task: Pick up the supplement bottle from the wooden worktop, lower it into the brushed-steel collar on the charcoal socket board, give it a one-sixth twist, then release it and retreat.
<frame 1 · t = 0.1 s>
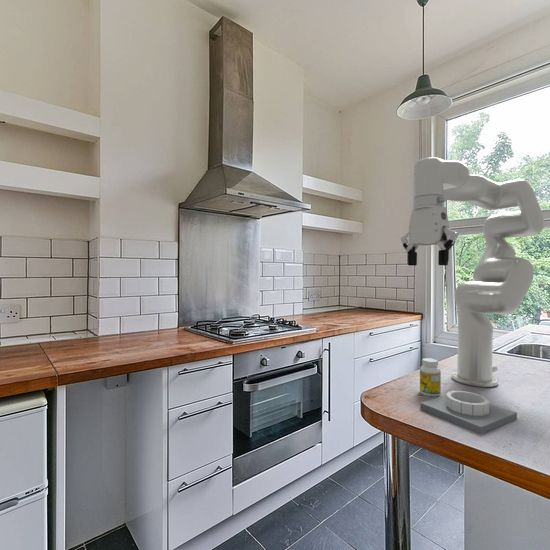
hand: (427, 265, 94), 37 cm above the table, tool pointing down, fingers open, 9 cm apart
socket board: (466, 413, 82), on the table
supplement bottle: (429, 394, 95), on the table
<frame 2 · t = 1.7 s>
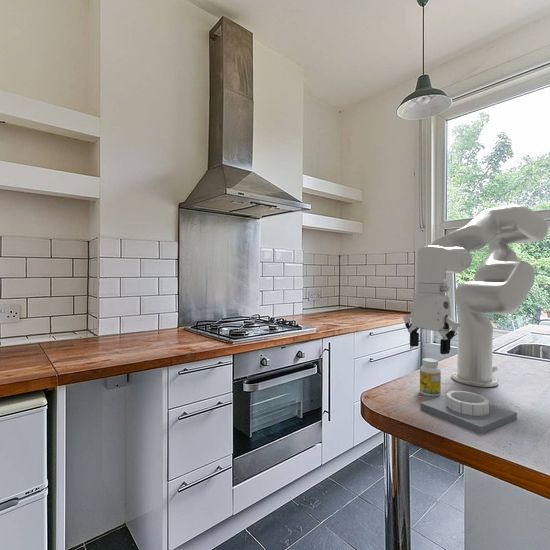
hand: (428, 349, 95), 13 cm above the table, tool pointing down, fingers open, 9 cm apart
nothing on the table moved.
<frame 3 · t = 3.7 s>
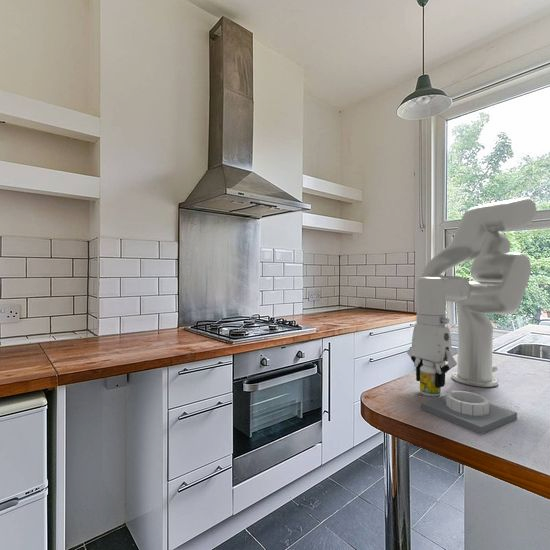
hand: (430, 382, 95), 3 cm above the table, tool pointing down, fingers closed on supplement bottle, 5 cm apart
supplement bottle: (429, 394, 95), on the table, touching gripper
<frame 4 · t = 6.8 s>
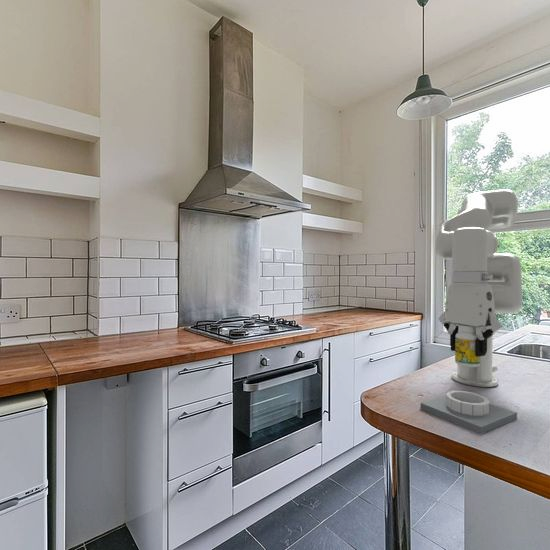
hand: (467, 352, 81), 15 cm above the table, tool pointing down, fingers closed on supplement bottle, 5 cm apart
supplement bottle: (467, 365, 81), point 12 cm above the table, touching gripper
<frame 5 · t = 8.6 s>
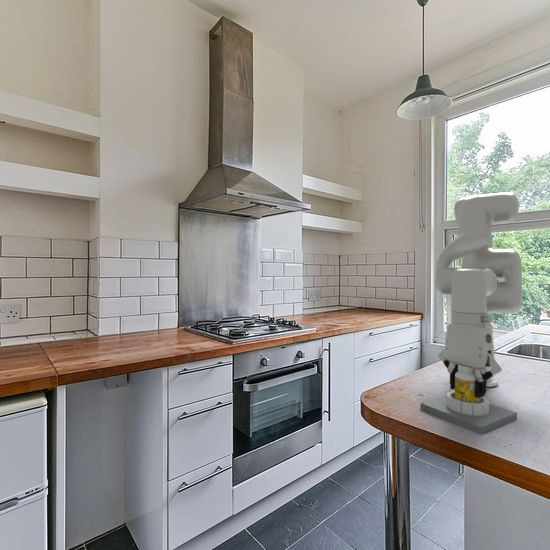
hand: (467, 391, 82), 5 cm above the table, tool pointing down, fingers closed on supplement bottle, 5 cm apart
supplement bottle: (466, 404, 82), point 2 cm above the table, touching gripper
when the fingers open (5 cm above the table, at t = 10.1 s): supplement bottle stays where it is, resting on socket board.
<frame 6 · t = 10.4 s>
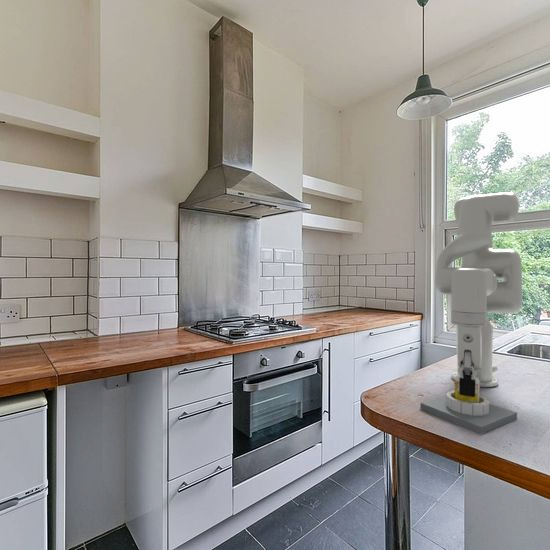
hand: (467, 389, 82), 6 cm above the table, tool pointing down, fingers open, 7 cm apart
supplement bottle: (466, 407, 82), point 1 cm above the table, touching socket board
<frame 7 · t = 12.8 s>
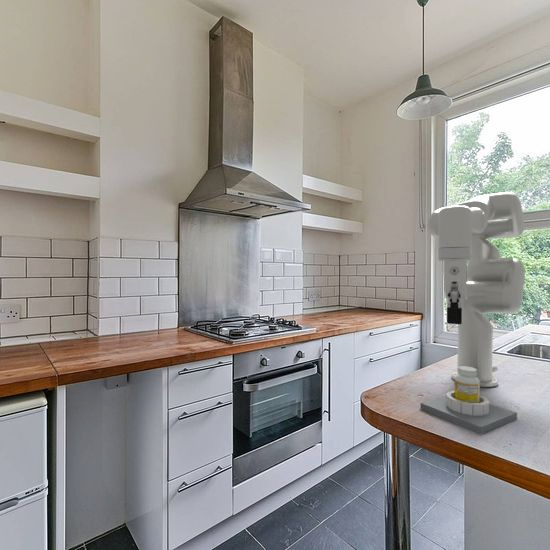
hand: (454, 320, 87), 22 cm above the table, tool pointing down, fingers open, 9 cm apart
nothing on the table moved.
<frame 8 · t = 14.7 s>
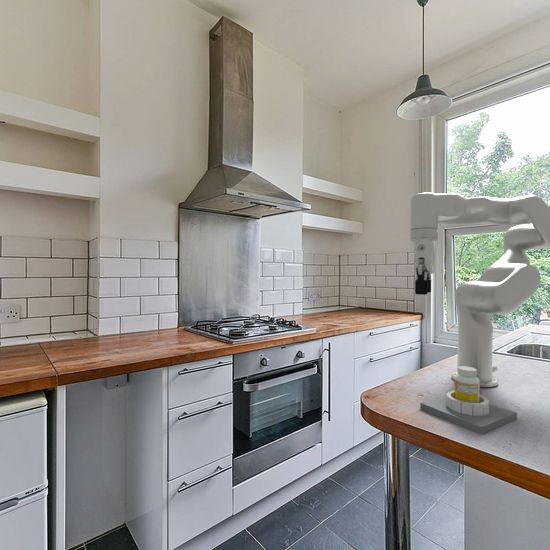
hand: (423, 293, 99), 28 cm above the table, tool pointing down, fingers open, 9 cm apart
nothing on the table moved.
at the end: supplement bottle 0.3 cm off-centre on the socket board, point 1.3 cm above the socket board's base; supplement bottle tilted 0°; the gripper is holding nothing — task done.
